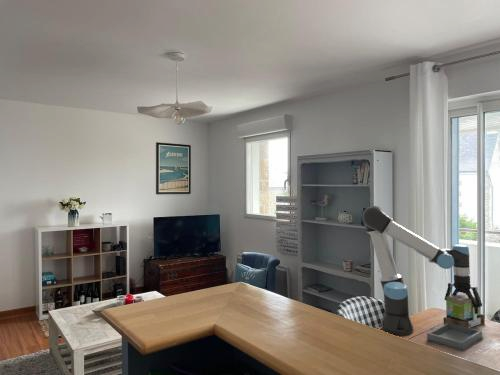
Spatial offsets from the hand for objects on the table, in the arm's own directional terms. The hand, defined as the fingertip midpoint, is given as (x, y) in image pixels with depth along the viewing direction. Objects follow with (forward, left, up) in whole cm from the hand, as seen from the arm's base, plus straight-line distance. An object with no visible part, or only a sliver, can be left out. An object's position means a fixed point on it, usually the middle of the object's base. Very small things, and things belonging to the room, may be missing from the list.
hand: (463, 317), depth 197 cm
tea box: (0, 0, -4) cm, 4 cm away
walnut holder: (0, 0, -5) cm, 5 cm away
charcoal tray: (+5, -22, -5) cm, 23 cm away
